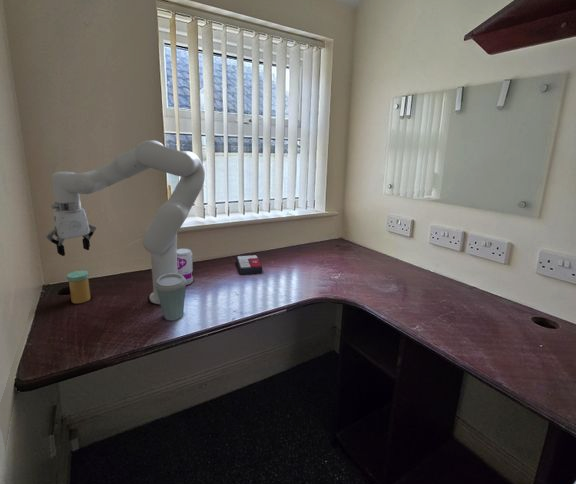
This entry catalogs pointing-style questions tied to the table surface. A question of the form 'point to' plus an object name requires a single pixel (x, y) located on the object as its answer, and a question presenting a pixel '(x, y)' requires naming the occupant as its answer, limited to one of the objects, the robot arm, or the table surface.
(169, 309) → the disposable coffee cup
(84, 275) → the lid
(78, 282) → the jam jar
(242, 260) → the black product box
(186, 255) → the supplement can
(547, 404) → the table surface
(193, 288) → the table surface
